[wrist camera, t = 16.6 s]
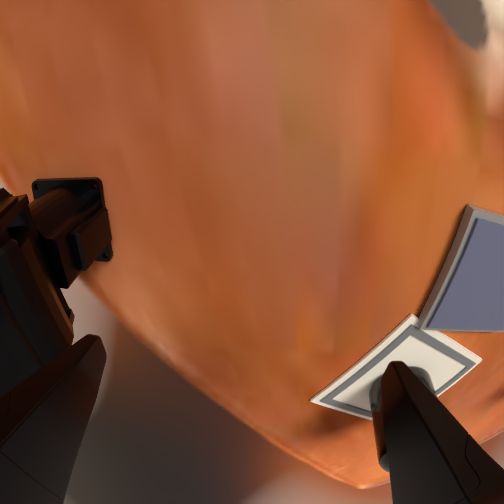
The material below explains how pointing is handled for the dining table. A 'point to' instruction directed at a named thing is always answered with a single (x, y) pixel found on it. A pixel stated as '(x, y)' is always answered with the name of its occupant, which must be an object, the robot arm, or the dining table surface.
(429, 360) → the marked card
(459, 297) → the pad
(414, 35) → the dining table surface
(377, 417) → the supplement bottle
